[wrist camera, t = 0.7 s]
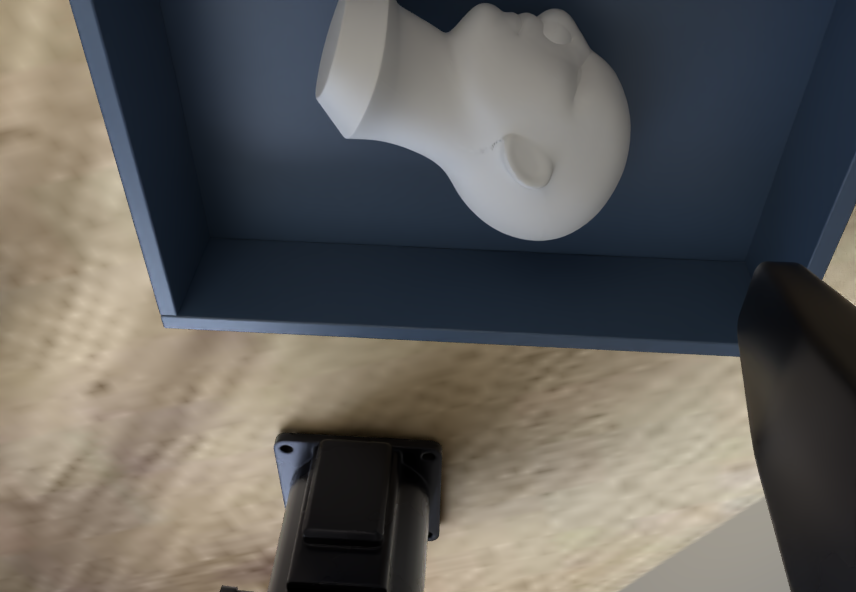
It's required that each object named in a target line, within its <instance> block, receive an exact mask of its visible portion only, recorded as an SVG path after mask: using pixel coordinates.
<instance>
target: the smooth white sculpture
mask: <svg viewBox="0 0 856 592" xmlns="http://www.w3.org/2000/svg"><path fill="white" fill-rule="evenodd" d="M315 95H316V99H317V101H318V102H319V103H320V105H321V106H322V108H323V109H324V110H325V112H326V113H327V114H328V116H329V117H330V119H331V120H332V121H333V123H334V124H335V126H336V127H337V128H338V130H339V131H340V133H341V134H342V135H343V137H344V138H347V139H367V140H377V141H383V142H388V143H392V144H395V145H399V146H402V147H405V148H407V149H410V150H412V151H415V152H417V153H419V154H421V155H423V156H425V157H427V158H429V159H430V160H432V161H433V162H435V163H436V164H438V165H439V166H440V167H441V168H442V169H443V170H444V171H445V173H446V174H447V175H448V177H449V179H450V180H451V182H452V184H453V185H454V187H455V189H456V191H457V192H458V194H459V195H460V197H461V198H462V200H463V201H464V202H465V204H466V205H467V206H468V207H469V208H470V209H471V210H472V211H473V212H474V213H475V214H476V215H477V216H478V217H479V218H480V219H481V220H483V221H484V222H485V223H486V224H488V225H489V226H491V227H493V228H494V229H496V230H498V231H500V232H502V233H504V234H507V235H510V236H512V237H516V238H520V239H525V240H534V241H545V240H552V239H557V238H560V237H564V236H566V235H568V234H571V233H573V232H574V231H576V230H578V229H579V228H581V227H582V226H584V225H585V224H587V223H588V222H589V221H590V220H591V219H592V218H594V217H595V216H596V215H597V214H598V213H599V212H600V210H601V209H602V208H603V207H604V205H605V204H606V203H607V201H608V200H609V198H610V197H611V195H612V193H613V192H614V190H615V188H616V186H617V184H618V182H619V180H620V178H621V176H622V173H623V171H624V168H625V165H626V161H627V157H628V152H629V145H630V132H631V123H630V114H629V108H628V103H627V99H626V96H625V93H624V90H623V88H622V85H621V83H620V81H619V79H618V77H617V75H616V73H615V72H614V70H613V69H612V68H611V67H610V65H609V64H608V63H607V62H606V61H605V60H604V59H603V58H601V57H600V56H599V55H598V54H596V53H595V52H593V51H592V50H591V49H590V47H589V45H588V44H587V42H586V40H585V38H584V36H583V35H582V33H581V32H580V30H579V29H578V27H577V25H576V23H575V22H574V20H573V19H572V17H571V16H570V15H569V14H568V13H567V12H565V11H563V10H561V9H549V10H546V11H544V12H543V13H541V14H540V15H539V16H537V17H536V16H535V15H533V14H530V13H521V14H519V15H518V14H516V13H514V12H503V11H501V10H500V9H499V8H498V7H496V6H495V5H492V4H489V3H481V4H478V5H476V6H475V7H473V8H472V9H471V10H470V11H469V12H468V13H467V14H466V15H465V16H464V17H463V18H462V19H461V20H460V22H459V23H458V24H457V25H456V26H455V27H454V28H453V29H452V30H451V31H450V32H447V33H445V32H442V31H441V30H439V29H438V28H436V27H434V26H433V25H431V24H430V23H428V22H427V21H425V20H423V19H421V18H420V17H418V16H416V15H415V14H413V13H411V12H410V11H408V10H406V9H404V8H403V7H401V6H400V5H399V4H398V3H397V1H396V0H339V1H338V3H337V6H336V9H335V12H334V15H333V18H332V21H331V24H330V27H329V30H328V34H327V37H326V41H325V44H324V48H323V52H322V56H321V61H320V66H319V72H318V77H317V84H316V93H315Z"/></svg>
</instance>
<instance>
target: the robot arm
mask: <svg viewBox="0 0 856 592" xmlns="http://www.w3.org/2000/svg"><path fill="white" fill-rule="evenodd" d="M737 338H738V345H739V352H740V360H741V367H742V374H743V381H744V388H745V396H746V403H747V410H748V417H749V424H750V432H751V438H752V444H753V450H754V455H755V459H756V464H757V468H758V472H759V476H760V479H761V483H762V487H763V490H764V494H765V498H766V501H767V505H768V509H769V513H770V516H771V520H772V524H773V527H774V531H775V535H776V538H777V542H778V546H779V550H780V553H781V557H782V561H783V564H784V568H785V572H786V575H787V579H788V582H789V586H790V590H791V592H856V306H854V305H853V304H852V303H851V302H849V301H848V300H847V299H845V298H844V297H843V296H842V295H840V294H839V293H838V292H836V291H835V290H834V289H833V288H831V287H830V286H829V285H827V284H826V283H825V282H824V281H822V280H821V279H820V278H819V277H817V276H816V275H815V274H813V273H812V272H811V271H810V270H808V269H807V268H806V267H804V266H803V265H801V264H799V263H796V262H779V261H764V262H762V263H760V264H759V265H758V266H757V268H756V269H755V271H754V273H753V276H752V279H751V282H750V285H749V288H748V291H747V294H746V296H745V299H744V302H743V305H742V308H741V311H740V314H739V317H738V323H737ZM274 452H275V457H276V463H277V468H278V473H279V478H280V484H281V489H282V494H283V499H284V505H285V514H284V518H283V523H282V528H281V532H280V537H279V541H278V546H277V550H276V555H275V560H274V564H273V569H272V573H271V578H270V582H269V587H268V592H424V586H425V572H426V557H427V542H428V541H433V540H436V539H437V538H438V537H439V526H440V498H441V470H442V447H441V445H440V444H439V443H437V442H434V441H427V440H409V439H391V438H372V437H354V436H336V435H317V434H299V433H282V434H279V435H278V436H277V437H276V440H275V444H274ZM220 592H252V591H243V590H238V588H237V587H232V586H223V585H222V587H221V590H220Z"/></svg>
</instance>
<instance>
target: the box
mask: <svg viewBox="0 0 856 592" xmlns="http://www.w3.org/2000/svg"><path fill="white" fill-rule="evenodd" d="M69 1H70V5H71V8H72V12H73V15H74V19H75V22H76V25H77V29H78V32H79V36H80V39H81V43H82V46H83V50H84V53H85V57H86V60H87V63H88V67H89V70H90V74H91V77H92V81H93V84H94V88H95V91H96V95H97V98H98V101H99V105H100V108H101V112H102V115H103V119H104V122H105V126H106V129H107V132H108V136H109V139H110V143H111V146H112V150H113V153H114V157H115V160H116V164H117V167H118V170H119V174H120V177H121V181H122V184H123V188H124V191H125V195H126V198H127V202H128V205H129V208H130V212H131V215H132V219H133V222H134V226H135V229H136V233H137V236H138V239H139V243H140V246H141V250H142V253H143V257H144V260H145V264H146V267H147V271H148V274H149V277H150V281H151V284H152V288H153V291H154V295H155V298H156V302H157V305H158V309H159V312H160V314H161V319H162V322H163V326H164V327H165V328H177V329H197V330H217V331H237V332H257V333H277V334H297V335H317V336H337V337H357V338H377V339H397V340H417V341H437V342H457V343H477V344H497V345H517V346H537V347H557V348H577V349H597V350H617V351H637V352H657V353H676V354H696V355H716V356H736V357H740V352H739V345H738V338H737V323H738V317H739V314H740V311H741V308H742V305H743V302H744V299H745V296H746V294H747V291H748V288H749V285H750V282H751V279H752V276H753V273H754V271H755V269H756V268H757V266H758V265H759V264H760V263H762V262H764V261H779V262H796V263H799V264H801V265H803V266H804V267H806V268H807V269H808V270H810V271H811V272H812V273H813V274H815V275H816V276H817V277H819V278H820V279H821V280H822V279H823V277H824V274H825V272H826V270H827V268H828V265H829V263H830V261H831V259H832V256H833V254H834V252H835V250H836V247H837V245H838V243H839V241H840V238H841V236H842V234H843V232H844V229H845V227H846V225H847V223H848V220H849V218H850V216H851V214H852V211H853V209H854V207H855V205H856V0H396V1H397V3H398V4H399V5H400V6H401V7H403V8H404V9H406V10H408V11H410V12H411V13H413V14H415V15H416V16H418V17H420V18H421V19H423V20H425V21H427V22H428V23H430V24H431V25H433V26H434V27H436V28H438V29H439V30H441V31H442V32H445V33H447V32H450V31H451V30H452V29H453V28H454V27H455V26H456V25H457V24H458V23H459V22H460V20H461V19H462V18H463V17H464V16H465V15H466V14H467V13H468V12H469V11H470V10H471V9H472V8H473V7H475V6H476V5H478V4H481V3H489V4H492V5H495V6H496V7H498V8H499V9H500V10H501V11H503V12H514V13H516V14H518V15H519V14H521V13H530V14H533V15H535V16H536V17H537V16H539V15H540V14H541V13H543V12H544V11H546V10H549V9H561V10H563V11H565V12H567V13H568V14H569V15H570V16H571V17H572V19H573V20H574V22H575V23H576V25H577V27H578V29H579V30H580V32H581V33H582V35H583V36H584V38H585V40H586V42H587V44H588V45H589V47H590V49H591V50H592V51H593V52H595V53H596V54H598V55H599V56H600V57H601V58H603V59H604V60H605V61H606V62H607V63H608V64H609V65H610V67H611V68H612V69H613V70H614V72H615V73H616V75H617V77H618V79H619V81H620V83H621V85H622V88H623V90H624V93H625V96H626V99H627V103H628V108H629V114H630V123H631V132H630V145H629V152H628V157H627V161H626V165H625V168H624V171H623V173H622V176H621V178H620V180H619V182H618V184H617V186H616V188H615V190H614V192H613V193H612V195H611V197H610V198H609V200H608V201H607V203H606V204H605V205H604V207H603V208H602V209H601V210H600V212H599V213H598V214H597V215H596V216H595V217H594V218H592V219H591V220H590V221H589V222H588V223H587V224H585V225H584V226H582V227H581V228H579V229H578V230H576V231H574V232H573V233H571V234H568V235H566V236H564V237H560V238H557V239H552V240H545V241H534V240H525V239H520V238H516V237H512V236H510V235H507V234H504V233H502V232H500V231H498V230H496V229H494V228H493V227H491V226H489V225H488V224H486V223H485V222H484V221H483V220H481V219H480V218H479V217H478V216H477V215H476V214H475V213H474V212H473V211H472V210H471V209H470V208H469V207H468V206H467V205H466V204H465V202H464V201H463V200H462V198H461V197H460V195H459V194H458V192H457V191H456V189H455V187H454V185H453V184H452V182H451V180H450V179H449V177H448V175H447V174H446V173H445V171H444V170H443V169H442V168H441V167H440V166H439V165H438V164H436V163H435V162H433V161H432V160H430V159H429V158H427V157H425V156H423V155H421V154H419V153H417V152H415V151H412V150H410V149H407V148H405V147H402V146H399V145H395V144H392V143H388V142H383V141H377V140H367V139H347V138H344V137H343V135H342V134H341V133H340V131H339V130H338V128H337V127H336V126H335V124H334V123H333V121H332V120H331V119H330V117H329V116H328V114H327V113H326V112H325V110H324V109H323V108H322V106H321V105H320V103H319V102H318V101H317V99H316V95H315V93H316V84H317V77H318V72H319V66H320V61H321V56H322V52H323V48H324V44H325V41H326V37H327V34H328V30H329V27H330V24H331V21H332V18H333V15H334V12H335V9H336V6H337V3H338V1H339V0H69Z"/></svg>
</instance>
